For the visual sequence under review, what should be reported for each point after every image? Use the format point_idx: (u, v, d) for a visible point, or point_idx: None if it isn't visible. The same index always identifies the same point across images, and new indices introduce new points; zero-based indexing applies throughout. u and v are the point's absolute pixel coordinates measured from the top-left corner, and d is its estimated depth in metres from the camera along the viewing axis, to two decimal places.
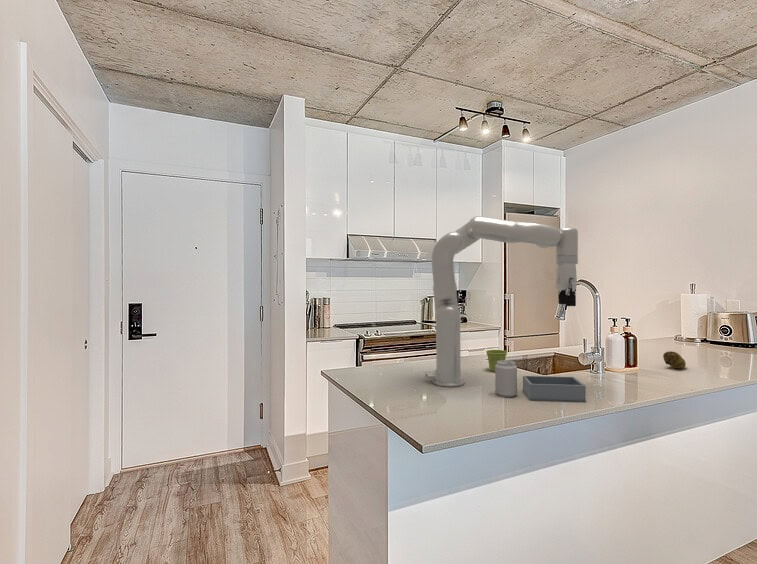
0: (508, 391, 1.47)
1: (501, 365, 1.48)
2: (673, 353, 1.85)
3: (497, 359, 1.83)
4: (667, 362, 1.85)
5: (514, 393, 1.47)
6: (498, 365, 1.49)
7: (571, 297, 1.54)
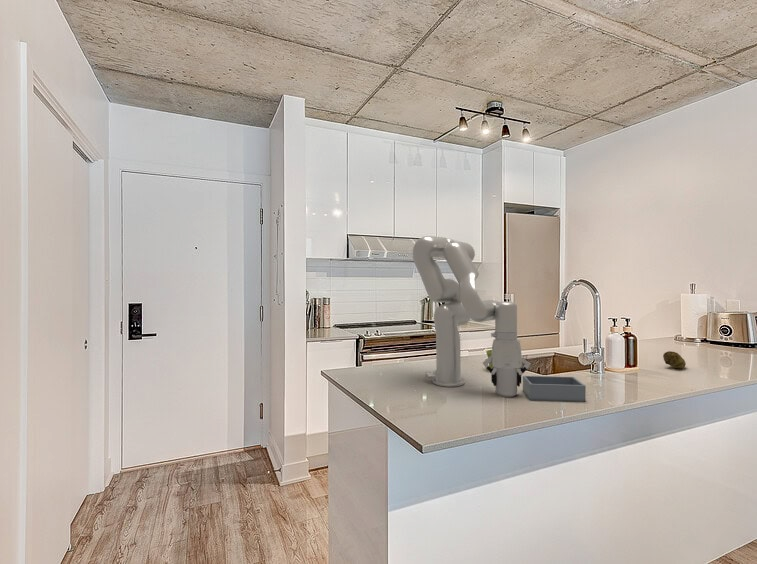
0: (508, 391, 1.47)
1: None
2: (673, 353, 1.85)
3: None
4: (667, 362, 1.86)
5: (514, 393, 1.47)
6: None
7: (520, 376, 1.49)
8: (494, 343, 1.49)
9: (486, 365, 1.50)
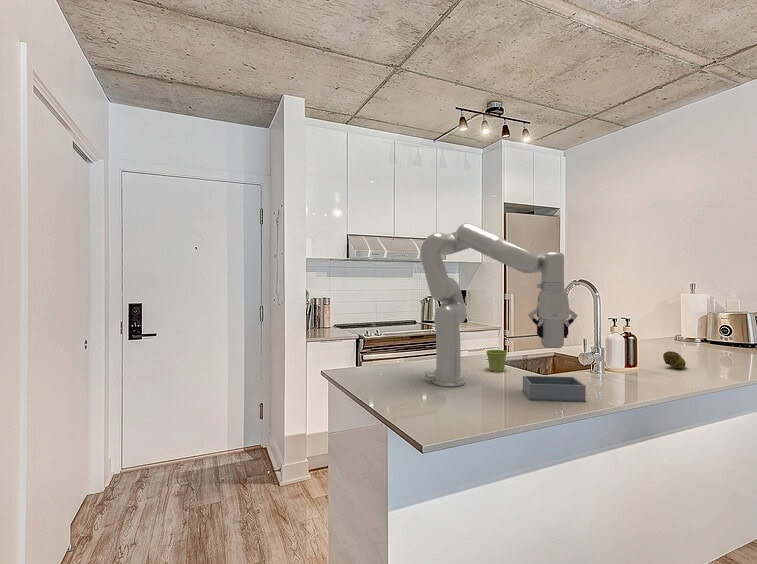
0: (555, 342, 1.44)
1: None
2: (673, 353, 1.85)
3: (497, 359, 1.83)
4: (667, 362, 1.86)
5: (562, 344, 1.45)
6: None
7: None
8: (541, 294, 1.46)
9: (532, 317, 1.48)
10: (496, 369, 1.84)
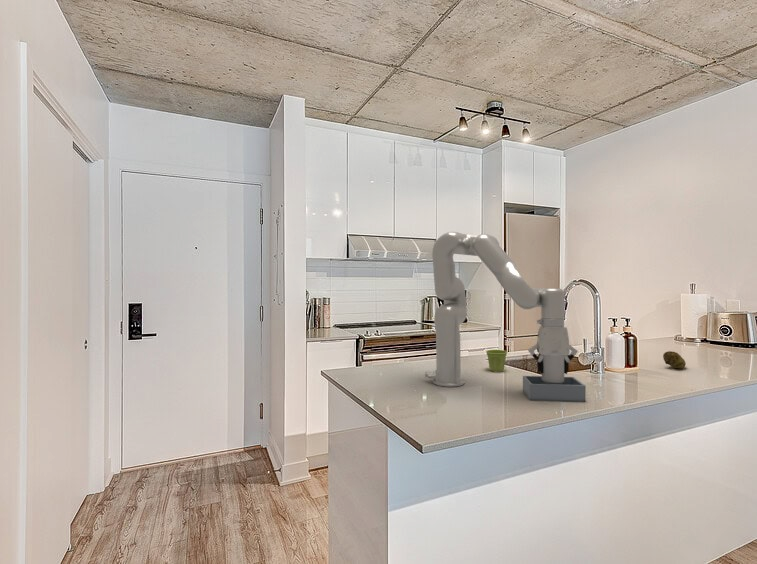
0: (556, 379, 1.44)
1: None
2: (673, 353, 1.85)
3: (497, 359, 1.83)
4: (667, 362, 1.86)
5: (562, 380, 1.45)
6: None
7: None
8: (541, 330, 1.46)
9: (532, 352, 1.48)
10: (496, 369, 1.84)
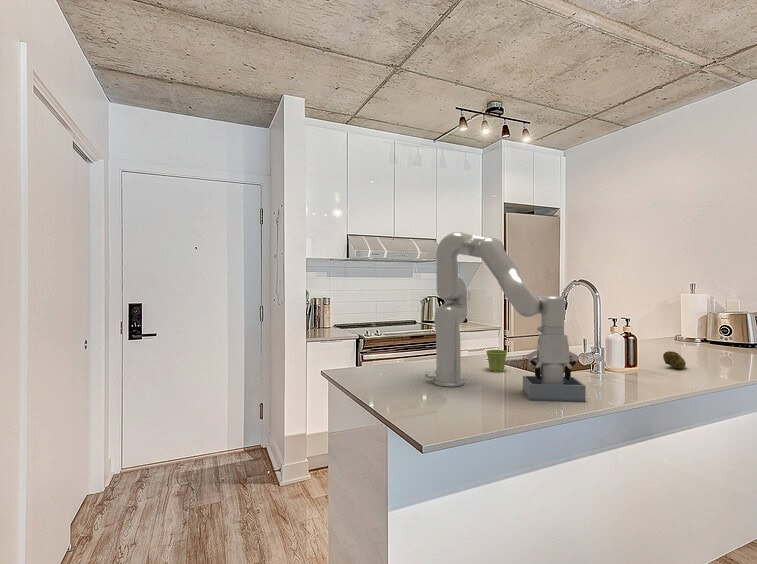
0: None
1: (548, 364, 1.46)
2: (673, 353, 1.85)
3: (497, 359, 1.83)
4: (667, 362, 1.86)
5: None
6: (544, 364, 1.47)
7: None
8: (541, 338, 1.46)
9: (530, 358, 1.48)
10: (496, 369, 1.84)
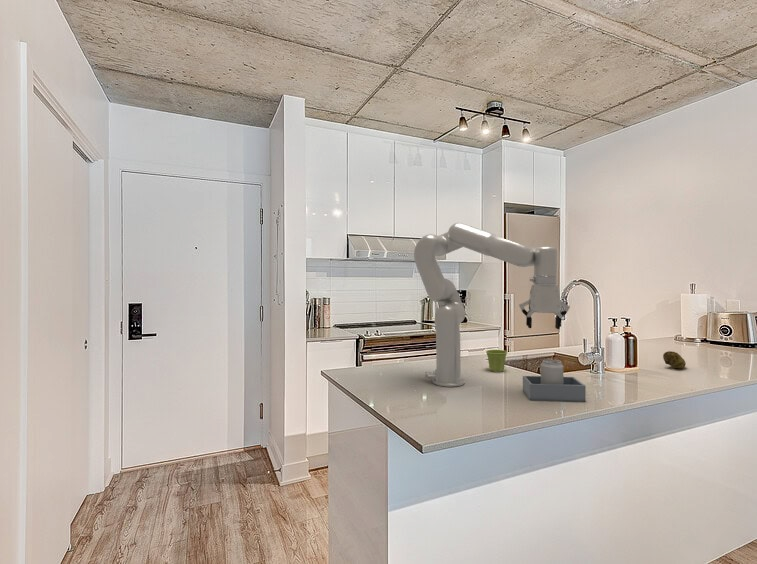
0: None
1: (547, 364, 1.46)
2: (673, 353, 1.85)
3: (497, 359, 1.83)
4: (667, 362, 1.86)
5: None
6: (544, 364, 1.47)
7: None
8: (533, 287, 1.50)
9: (522, 308, 1.52)
10: (496, 369, 1.84)
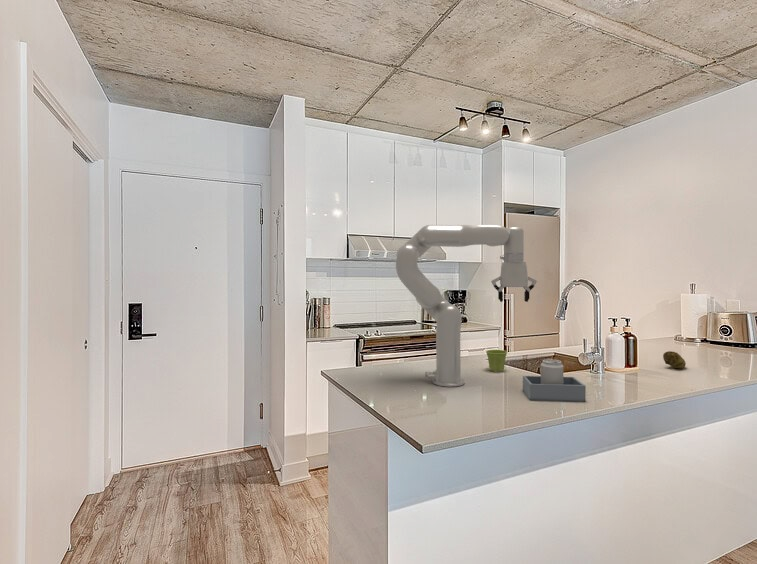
0: None
1: (547, 364, 1.46)
2: (673, 353, 1.85)
3: (497, 359, 1.83)
4: (667, 362, 1.86)
5: None
6: (544, 364, 1.47)
7: (528, 293, 1.66)
8: (503, 264, 1.65)
9: (494, 283, 1.67)
10: (496, 369, 1.84)
